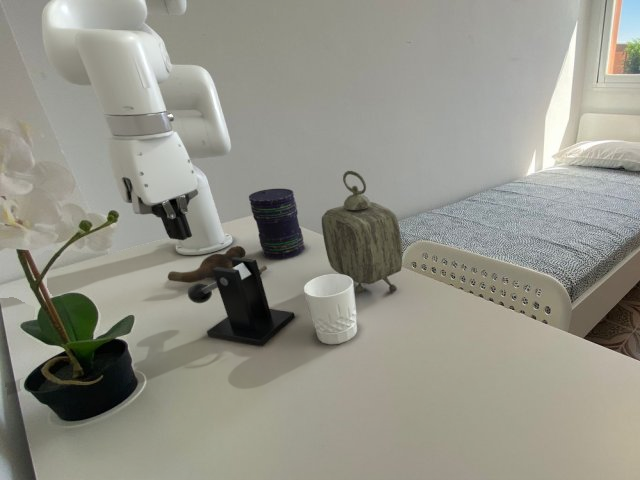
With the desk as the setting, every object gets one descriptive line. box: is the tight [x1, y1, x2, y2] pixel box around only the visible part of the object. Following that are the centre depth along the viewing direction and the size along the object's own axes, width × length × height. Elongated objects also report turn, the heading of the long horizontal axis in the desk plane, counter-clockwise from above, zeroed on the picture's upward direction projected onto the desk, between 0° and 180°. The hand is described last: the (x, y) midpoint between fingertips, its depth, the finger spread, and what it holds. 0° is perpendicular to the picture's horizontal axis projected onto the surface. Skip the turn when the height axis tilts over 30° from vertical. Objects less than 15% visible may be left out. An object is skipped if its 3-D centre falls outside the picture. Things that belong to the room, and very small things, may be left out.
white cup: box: [303, 273, 358, 345], centre depth 71 cm, size 8×8×10 cm
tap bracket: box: [206, 257, 296, 347], centre depth 72 cm, size 11×9×13 cm
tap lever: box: [187, 263, 251, 304], centre depth 72 cm, size 14×4×4 cm, turn 75°
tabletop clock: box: [321, 170, 403, 293], centre depth 82 cm, size 14×9×25 cm, turn 50°
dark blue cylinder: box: [248, 188, 306, 261], centre depth 101 cm, size 10×10×15 cm
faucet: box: [167, 245, 268, 284], centre depth 92 cm, size 5×17×15 cm
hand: (180, 237), depth 70 cm, fingers closed
